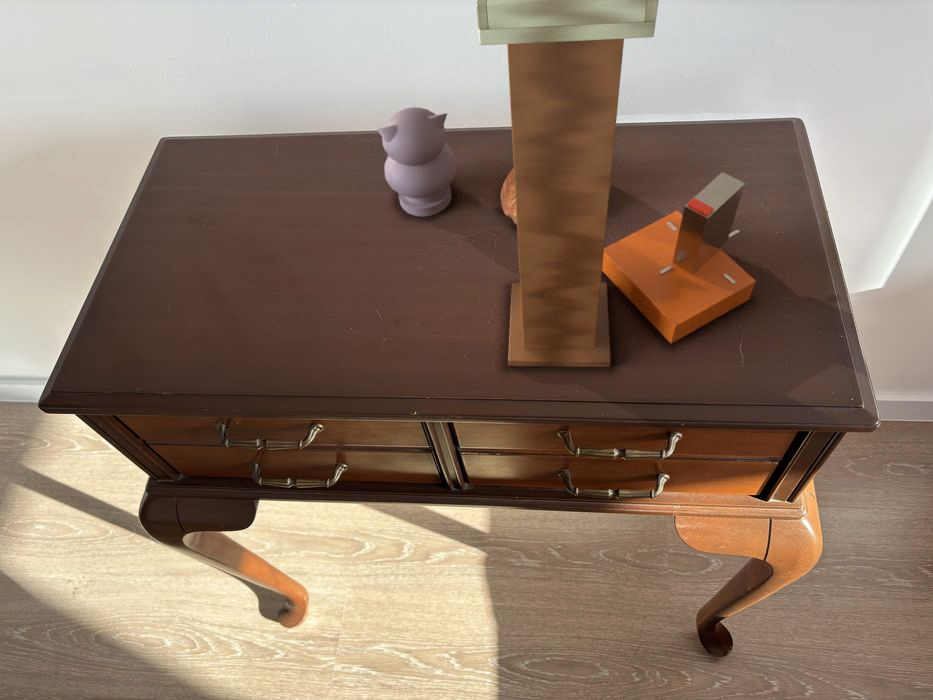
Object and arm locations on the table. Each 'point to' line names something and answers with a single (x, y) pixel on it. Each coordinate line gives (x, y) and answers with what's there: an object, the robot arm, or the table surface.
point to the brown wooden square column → (562, 165)
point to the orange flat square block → (674, 280)
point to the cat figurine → (419, 160)
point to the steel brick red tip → (707, 222)
